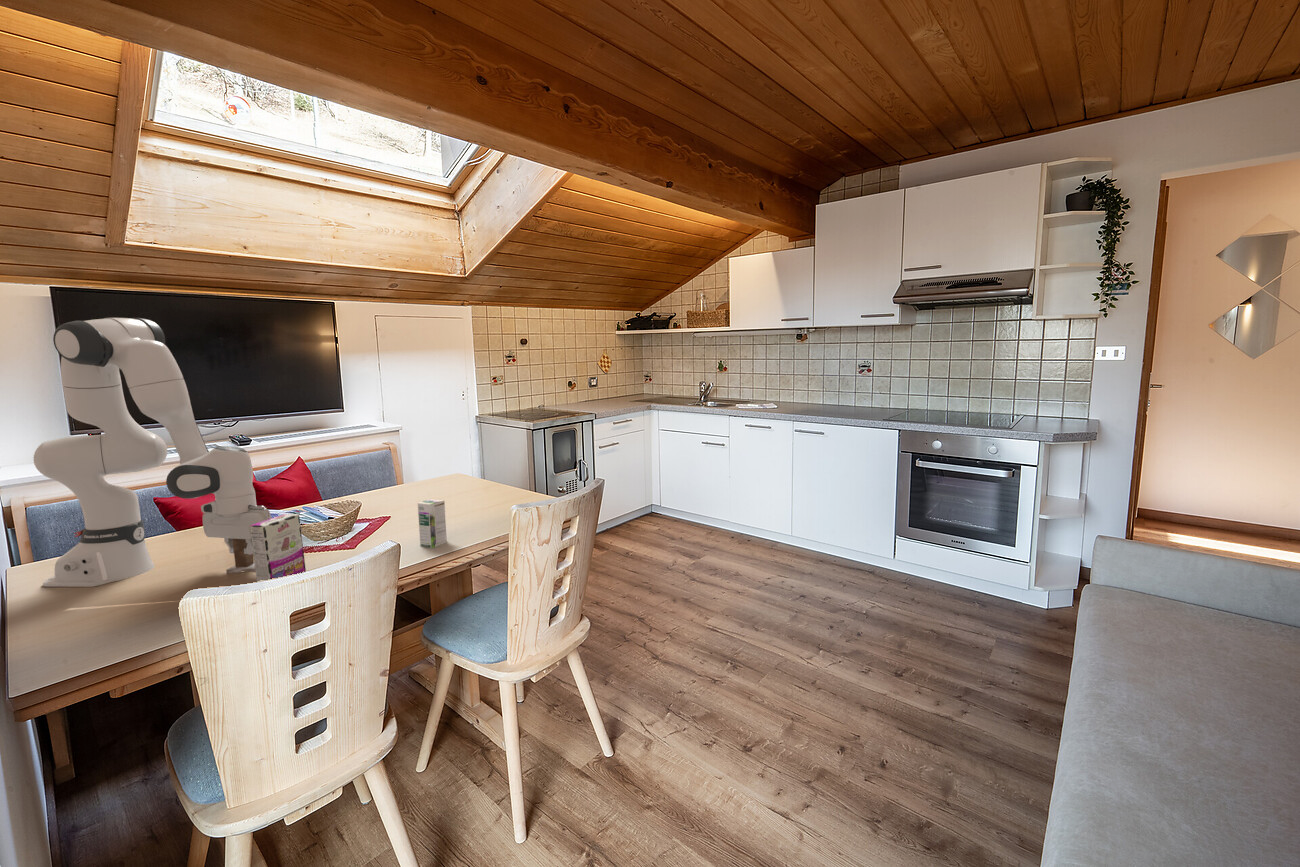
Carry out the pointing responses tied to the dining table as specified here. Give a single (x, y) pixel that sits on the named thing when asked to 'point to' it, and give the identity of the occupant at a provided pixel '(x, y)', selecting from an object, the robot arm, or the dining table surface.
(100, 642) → the dining table surface
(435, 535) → the syrup box
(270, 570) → the candy bar box
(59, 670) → the dining table surface
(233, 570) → the upright block on plate
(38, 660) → the dining table surface
